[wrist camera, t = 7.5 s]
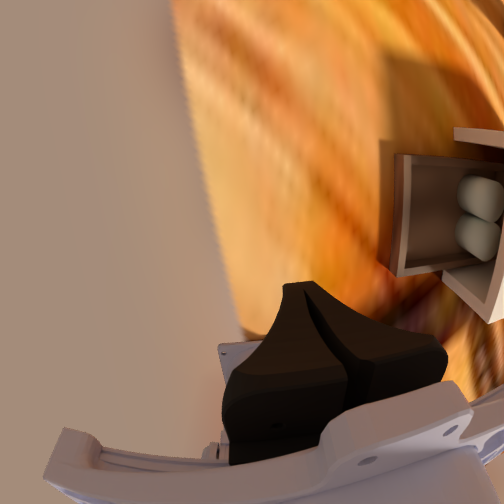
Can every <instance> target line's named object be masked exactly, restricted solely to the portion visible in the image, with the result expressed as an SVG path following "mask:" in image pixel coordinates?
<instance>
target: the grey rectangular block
mask: <svg viewBox="0 0 504 504" xmlns="http://www.w3.org/2000/svg"><path fill="white" fill-rule="evenodd" d="M453 128H454V140H455V141H462V142H469V143H474V144H480V145H486V146H491V147H496V148H500V149H504V131H497V130H487V129H476V128H461V127H453ZM442 281H443V282H444V283H445V284H446V285H447V286H448V287H450V288H451V289H452V290H453V291H454V292H455V293H456V294H457V295H458V296H459V297H460V298H462V299H463V300H464V301H465V302H466V303H467V304H468V305H469V306H470V307H471V308H472V309H473V310H474V311H475V312H476V313H477V314H478V315H479V316H480V317H481V318H482V319H483V320H484V321H485V322H486V323H487V324H490V323H492V322H495V321H497V320H500V319H502V318H504V220H503V227H502V234H501V239H500V245H499V250H498V255H497V259H496V260H492V261H487V262H482V263H477V264H472V265H467V266H462V267H456V268H451V269H445V270H443V275H442Z"/></svg>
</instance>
